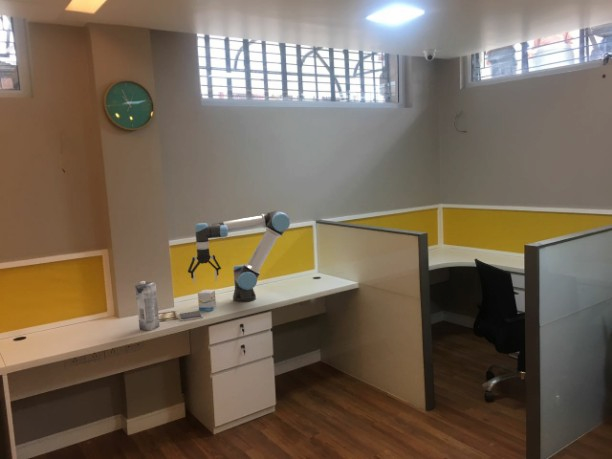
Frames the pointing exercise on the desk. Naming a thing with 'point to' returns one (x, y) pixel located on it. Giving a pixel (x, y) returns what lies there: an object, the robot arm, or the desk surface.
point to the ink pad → (190, 315)
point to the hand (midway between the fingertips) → (205, 282)
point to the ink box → (206, 300)
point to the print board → (168, 316)
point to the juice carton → (147, 305)
